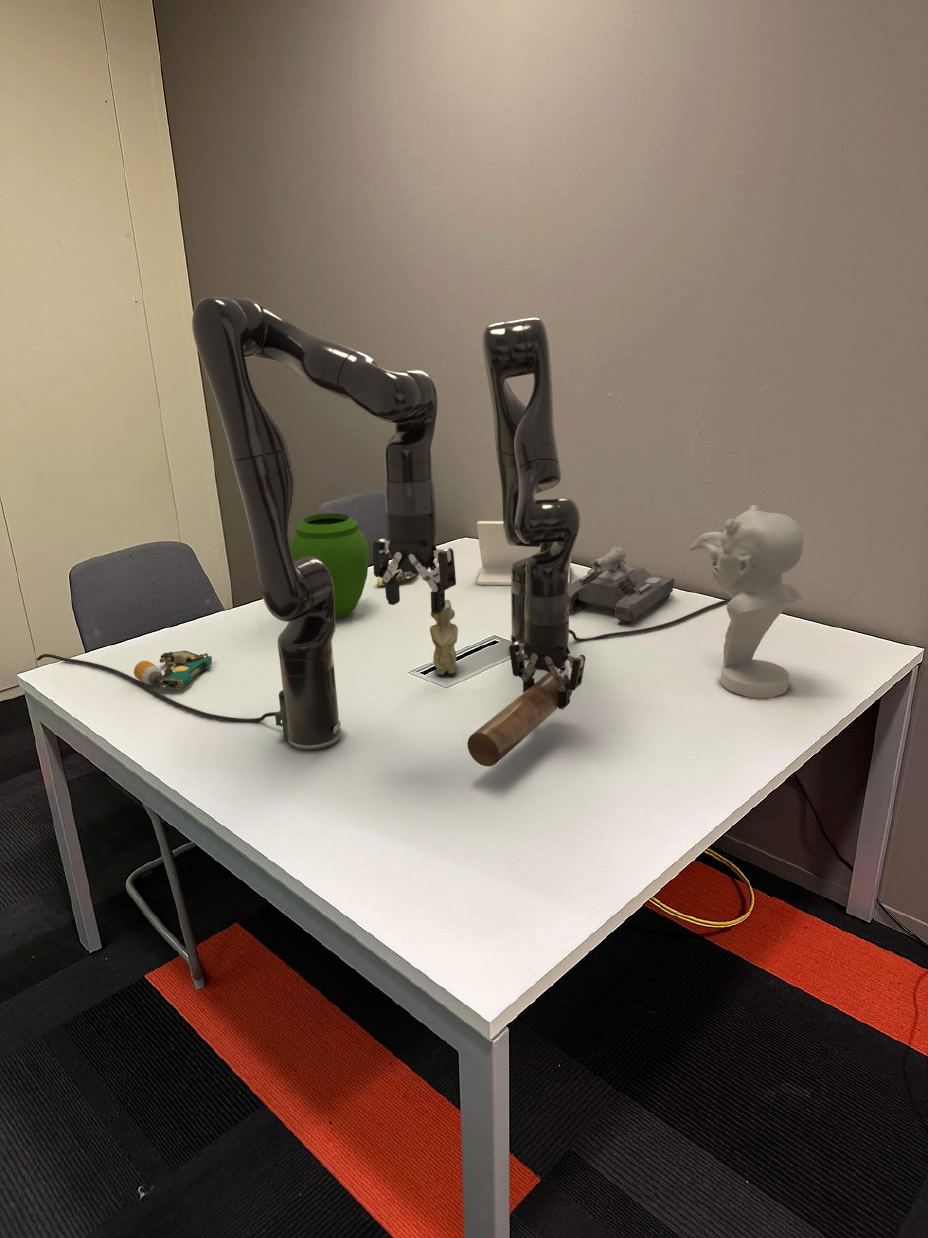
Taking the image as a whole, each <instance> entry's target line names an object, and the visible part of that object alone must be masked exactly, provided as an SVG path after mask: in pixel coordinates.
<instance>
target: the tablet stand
mask: <svg viewBox="0 0 928 1238" xmlns="http://www.w3.org/2000/svg"><path fill="white" fill-rule="evenodd" d="M476 531H477V537H478V544H479V551H480V557H481V558H480V559H481V570H480V573H479V575H478V577H477V580H476V581H477V582H476V584H478V585H484V586H485V585H486V586H487V585H489V586H490V585H491V586H511V567H512V565H513V563H515V562H516V561H518V560H521V559H524V558H527V557H530V556H532V555H534V554H535V553H537V552H538V551H539V550H540V548H539V547H523V546H522V547H517V546H512V545H509V544H508V543H507V541H506V539H505V535H504V528H503V520H477V522H476ZM571 560H572V558H570V562H569V567H568V585H569V584H570V580H571V579H570V578H571V565H572V564H571Z"/></svg>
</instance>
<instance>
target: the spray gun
mask: <svg viewBox="0 0 928 1238" xmlns="http://www.w3.org/2000/svg"><path fill="white" fill-rule="evenodd" d="M212 660H213V657H212V656H211V655H208V653H207V652H205V653H201V654H197V653H194V652H192V651H191V652H190V651H188V650H180V651H169V652H164V653H162V654H161V655H160V658H159V660H158V662H159V663H161V664H163V663H165V664H166V668H165V670H163V672H164V674H163V673H162V669H160V668H159V666H157V665H156V664H154V663H152V662H151V661H149V660H141V661H139V662H138V663H136V665H135V666H134V668H133V675H134V677H135V679H136V680H138V681H140V682H141V683H143V684H145V685H146V686H155V685H157V686H158V687H160V688H161V689H171V690H172V689H173V690H182V689H184V687H185V686H186V685H188V684H189V683H190V682H191V681H192V679H193V678H195V677H196V676H197V675H198V674H200V673H201V672H202V671H203V670H206V669H208V668H209V667H210V666H211V665H212V662H213V661H212ZM178 663H179V664H181V665H179V666H176V665H177V664H178Z"/></svg>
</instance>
